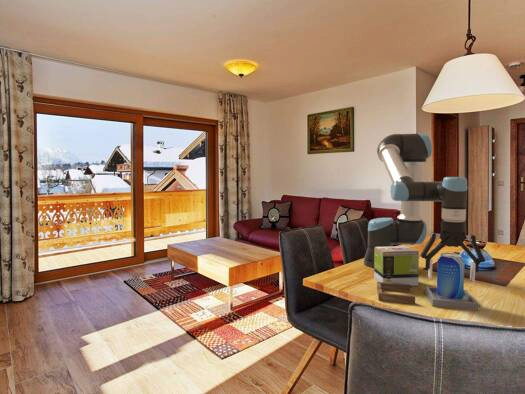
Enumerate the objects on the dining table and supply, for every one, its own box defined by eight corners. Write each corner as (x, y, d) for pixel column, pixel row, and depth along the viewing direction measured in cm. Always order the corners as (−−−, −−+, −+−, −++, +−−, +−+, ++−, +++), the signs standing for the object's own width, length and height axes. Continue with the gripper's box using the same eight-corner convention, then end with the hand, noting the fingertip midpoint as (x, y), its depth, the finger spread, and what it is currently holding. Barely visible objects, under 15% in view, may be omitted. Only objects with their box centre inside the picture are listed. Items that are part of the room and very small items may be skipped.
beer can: (432, 297, 121) (433, 254, 120) (443, 292, 126) (444, 250, 125) (456, 305, 115) (457, 259, 113) (467, 299, 120) (469, 255, 118)
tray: (425, 292, 129) (425, 286, 129) (466, 296, 125) (466, 289, 125) (432, 306, 116) (432, 299, 116) (478, 310, 112) (478, 303, 112)
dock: (376, 288, 134) (377, 281, 134) (409, 291, 130) (410, 284, 130) (378, 300, 121) (378, 293, 121) (415, 304, 118) (415, 297, 117)
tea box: (407, 278, 146) (408, 245, 145) (418, 286, 136) (420, 250, 135) (373, 279, 145) (374, 245, 144) (382, 287, 135) (383, 251, 134)
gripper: (416, 220, 118) (414, 279, 120) (498, 223, 111) (494, 285, 113) (413, 217, 125) (411, 273, 127) (489, 220, 118) (486, 278, 120)
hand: (450, 279), depth 120 cm, fingers open, 13 cm apart
